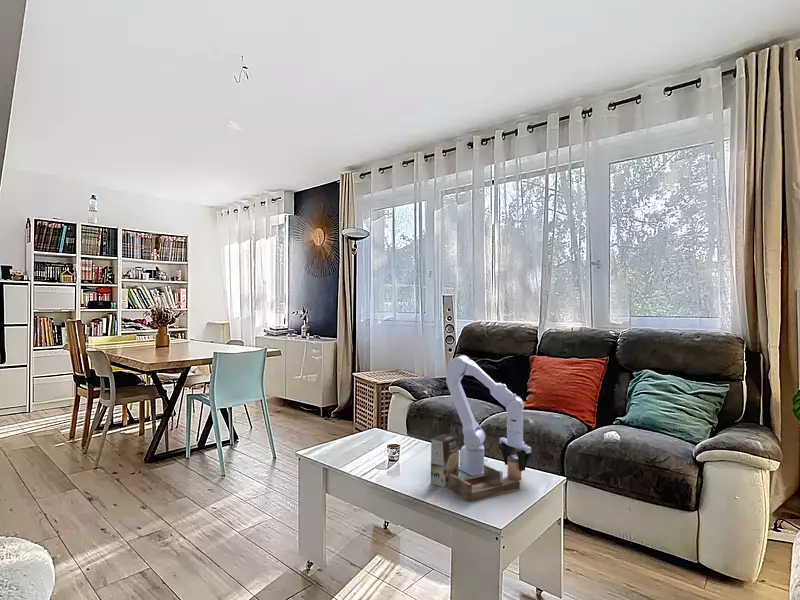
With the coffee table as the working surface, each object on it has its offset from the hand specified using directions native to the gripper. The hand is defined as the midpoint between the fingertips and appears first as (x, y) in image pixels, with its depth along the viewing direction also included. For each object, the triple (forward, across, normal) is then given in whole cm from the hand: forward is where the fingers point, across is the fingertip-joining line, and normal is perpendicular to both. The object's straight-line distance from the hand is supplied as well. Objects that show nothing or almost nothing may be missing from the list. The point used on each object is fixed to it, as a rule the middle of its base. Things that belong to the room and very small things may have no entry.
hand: (514, 467), depth 181 cm
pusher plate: (+4, -3, +13) cm, 14 cm away
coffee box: (+4, +9, +25) cm, 27 cm away
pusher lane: (+4, -3, +17) cm, 18 cm away
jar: (+4, 0, 0) cm, 4 cm away
